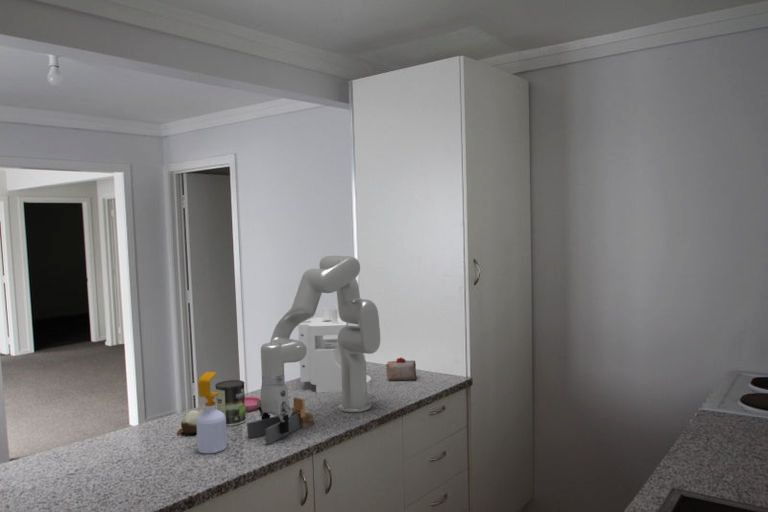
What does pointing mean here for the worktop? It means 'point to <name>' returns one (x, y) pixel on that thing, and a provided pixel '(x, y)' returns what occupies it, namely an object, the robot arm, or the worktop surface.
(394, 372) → the food item
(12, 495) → the worktop surface
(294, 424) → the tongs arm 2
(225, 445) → the spray bottle
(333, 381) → the coffee machine
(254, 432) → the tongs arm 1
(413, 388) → the worktop surface
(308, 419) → the block
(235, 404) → the coffee can
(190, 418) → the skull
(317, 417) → the worktop surface
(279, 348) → the robot arm
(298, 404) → the tan wooden block
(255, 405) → the saucer
